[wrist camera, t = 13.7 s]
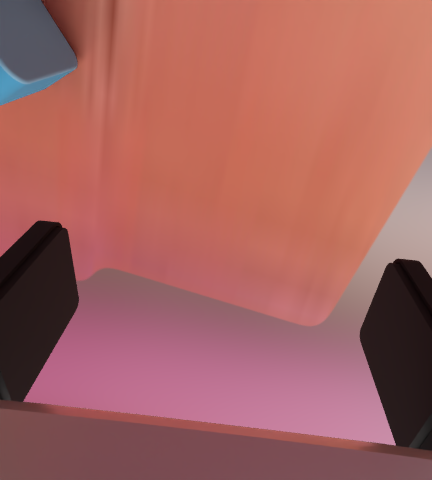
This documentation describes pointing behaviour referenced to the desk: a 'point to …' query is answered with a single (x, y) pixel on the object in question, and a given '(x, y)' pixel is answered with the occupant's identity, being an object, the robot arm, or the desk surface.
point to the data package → (30, 50)
